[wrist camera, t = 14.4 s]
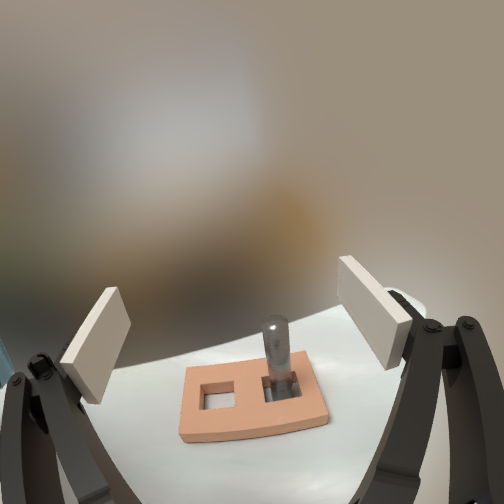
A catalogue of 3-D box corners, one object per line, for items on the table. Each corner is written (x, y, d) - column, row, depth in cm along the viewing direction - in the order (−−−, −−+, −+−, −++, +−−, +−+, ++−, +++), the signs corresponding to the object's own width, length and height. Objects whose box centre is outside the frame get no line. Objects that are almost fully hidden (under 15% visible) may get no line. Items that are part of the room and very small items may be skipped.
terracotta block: (184, 442, 29) (178, 433, 28) (190, 377, 41) (186, 367, 40) (327, 423, 30) (328, 414, 29) (305, 361, 42) (305, 350, 41)
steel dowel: (273, 406, 34) (263, 333, 29) (270, 391, 37) (260, 317, 32) (294, 402, 34) (290, 328, 29) (290, 387, 37) (285, 313, 32)
